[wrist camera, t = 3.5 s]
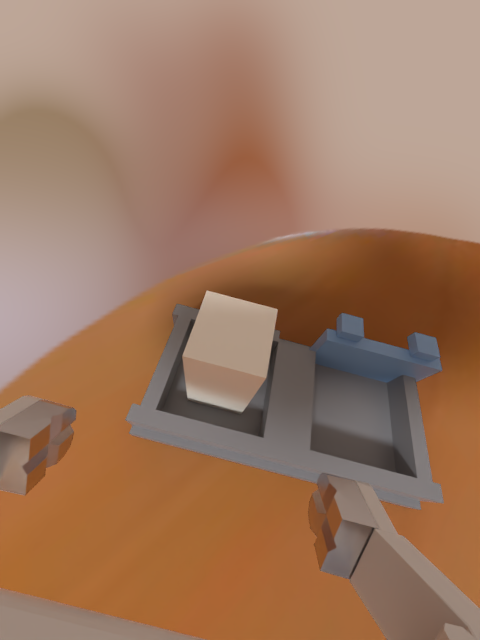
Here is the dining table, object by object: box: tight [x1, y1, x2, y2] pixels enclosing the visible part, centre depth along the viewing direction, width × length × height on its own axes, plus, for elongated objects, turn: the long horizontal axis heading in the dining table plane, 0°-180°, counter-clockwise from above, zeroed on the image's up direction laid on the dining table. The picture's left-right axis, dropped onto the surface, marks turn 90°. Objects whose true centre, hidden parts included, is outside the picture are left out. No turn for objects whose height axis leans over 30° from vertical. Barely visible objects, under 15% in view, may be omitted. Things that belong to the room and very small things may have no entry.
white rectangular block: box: [182, 291, 278, 414], centre depth 16 cm, size 4×4×8 cm
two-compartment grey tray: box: [125, 304, 444, 510], centre depth 18 cm, size 20×11×6 cm, turn 77°
